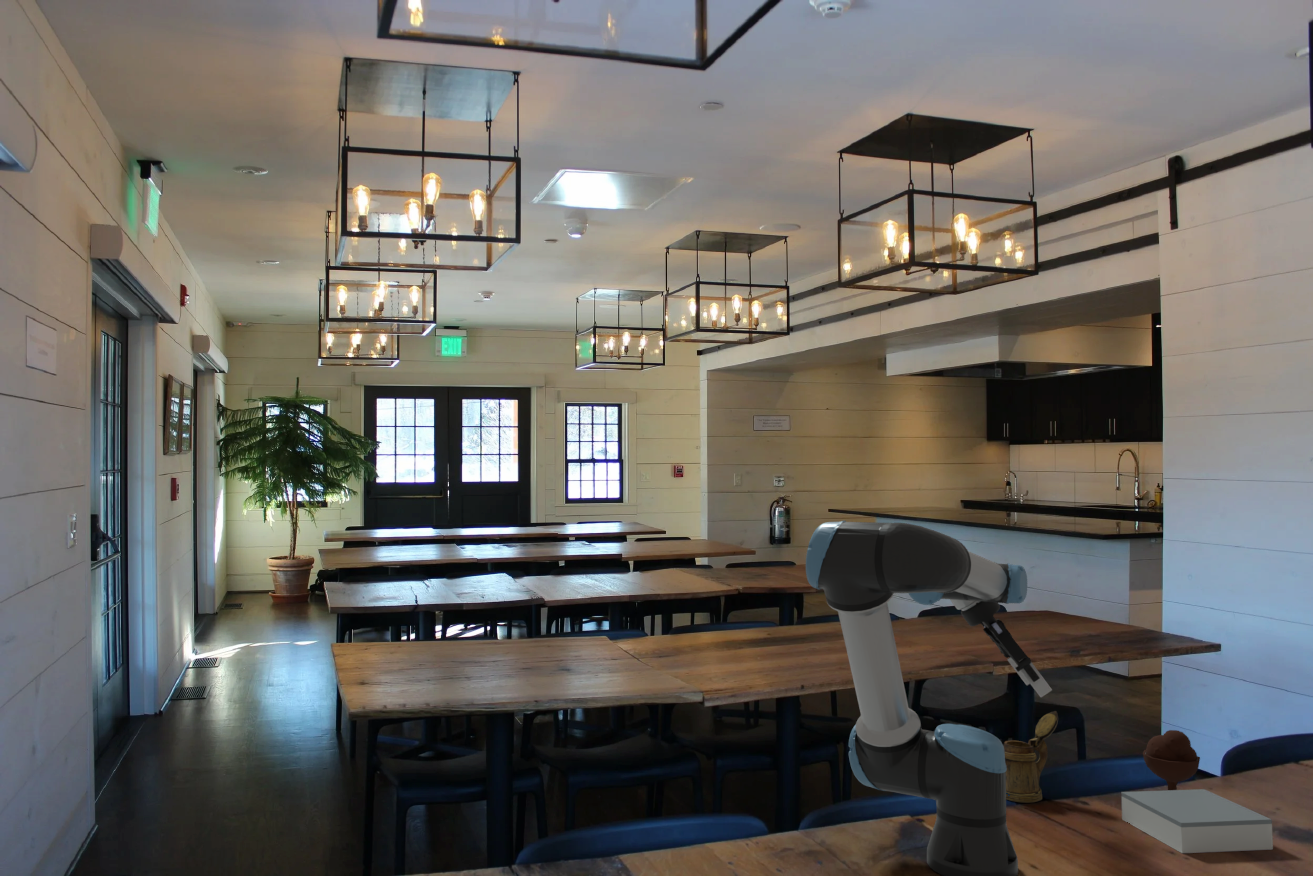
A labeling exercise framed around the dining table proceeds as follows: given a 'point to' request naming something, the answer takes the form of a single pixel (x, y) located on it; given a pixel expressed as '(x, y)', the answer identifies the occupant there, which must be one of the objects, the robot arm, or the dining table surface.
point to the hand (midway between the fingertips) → (1039, 687)
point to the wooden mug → (1028, 762)
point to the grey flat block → (1197, 821)
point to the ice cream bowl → (1171, 757)
